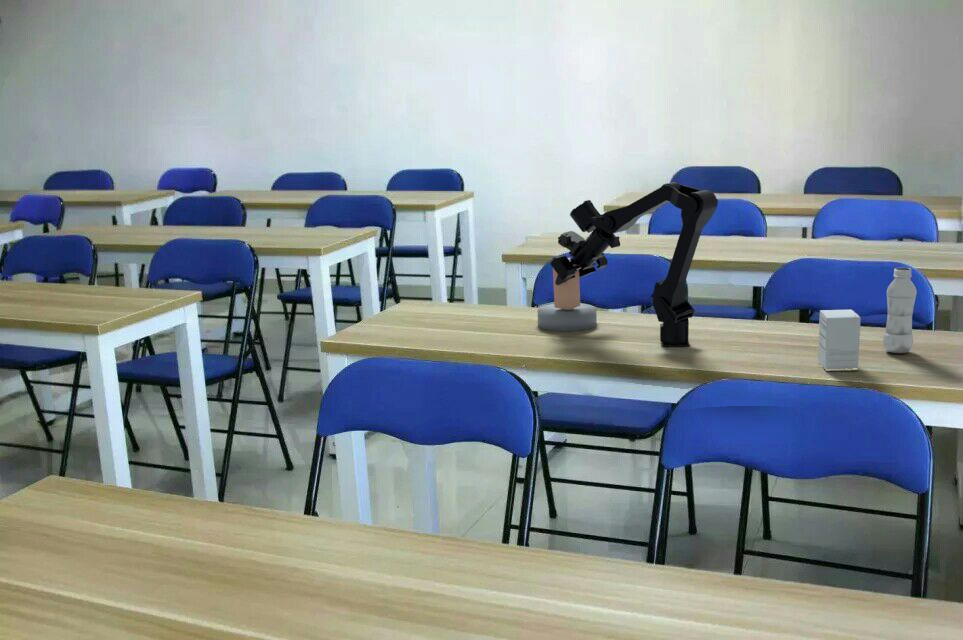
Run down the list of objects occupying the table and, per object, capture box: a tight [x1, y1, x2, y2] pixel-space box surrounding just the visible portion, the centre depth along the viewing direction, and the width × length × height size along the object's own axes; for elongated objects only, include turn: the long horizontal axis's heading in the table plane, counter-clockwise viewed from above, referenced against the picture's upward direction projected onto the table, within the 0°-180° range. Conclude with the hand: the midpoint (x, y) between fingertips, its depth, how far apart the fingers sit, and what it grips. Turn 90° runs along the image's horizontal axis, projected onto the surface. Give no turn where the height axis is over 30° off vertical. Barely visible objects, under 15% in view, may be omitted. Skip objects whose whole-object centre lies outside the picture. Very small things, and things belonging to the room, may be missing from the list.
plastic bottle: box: [882, 267, 918, 354], centre depth 233 cm, size 6×7×20 cm
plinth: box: [537, 302, 598, 332], centre depth 273 cm, size 16×16×4 cm
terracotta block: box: [552, 257, 581, 310], centre depth 271 cm, size 5×5×13 cm
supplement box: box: [817, 309, 862, 369], centre depth 225 cm, size 7×7×13 cm
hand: (562, 282), depth 272 cm, fingers closed on terracotta block, 5 cm apart
